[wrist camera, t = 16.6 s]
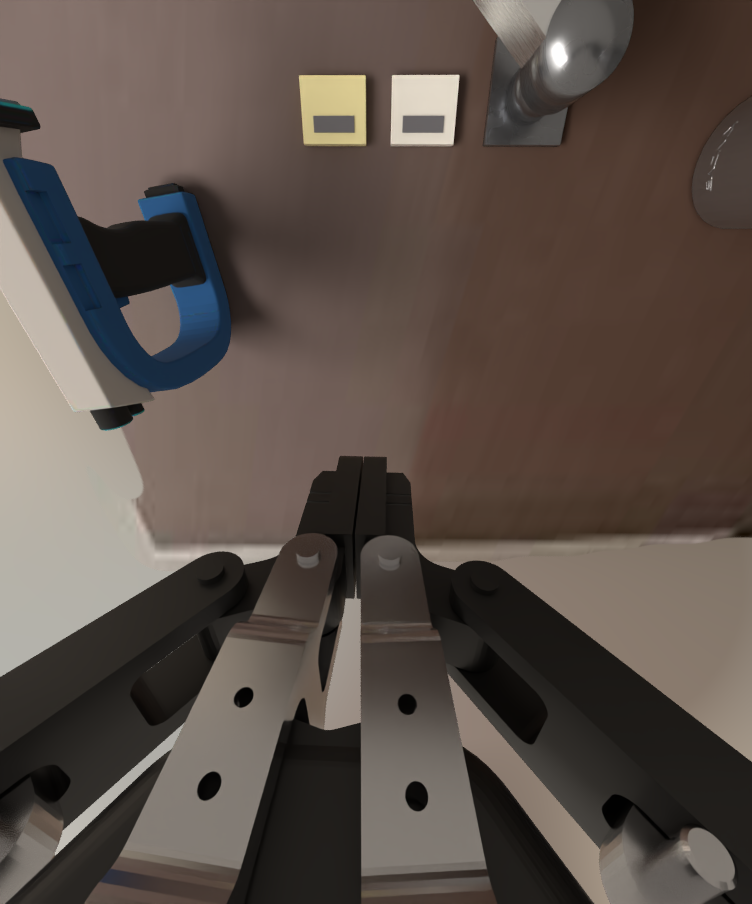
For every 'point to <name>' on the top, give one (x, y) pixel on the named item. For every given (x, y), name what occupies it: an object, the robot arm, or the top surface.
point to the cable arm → (561, 45)
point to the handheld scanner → (104, 284)
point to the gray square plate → (516, 109)
